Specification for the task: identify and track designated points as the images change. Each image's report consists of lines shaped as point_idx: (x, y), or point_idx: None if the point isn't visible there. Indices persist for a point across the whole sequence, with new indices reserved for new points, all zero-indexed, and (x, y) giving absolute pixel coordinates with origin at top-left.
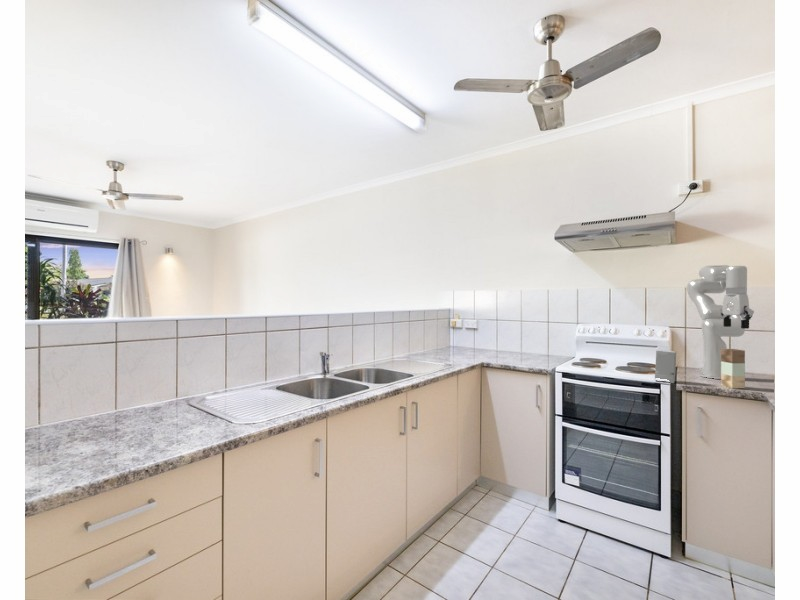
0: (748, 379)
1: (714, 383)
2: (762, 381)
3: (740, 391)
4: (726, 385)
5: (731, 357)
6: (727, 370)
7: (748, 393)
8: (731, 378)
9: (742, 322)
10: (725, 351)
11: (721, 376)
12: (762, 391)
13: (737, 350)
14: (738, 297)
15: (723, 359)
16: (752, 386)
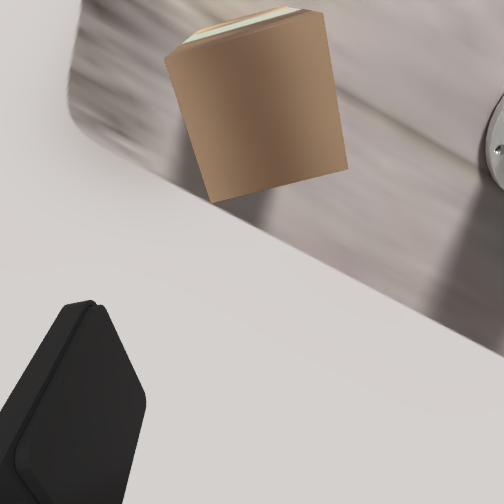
0: (496, 278)
1: (361, 4)
2: (446, 311)
3: (131, 38)
4: (242, 17)
5: (183, 47)
6: (232, 25)
7: (86, 55)
8: (200, 32)
9: (11, 408)
10: (256, 29)
11: (285, 7)
12: (177, 169)
13: (196, 129)
14: None
15: (277, 17)
16: (306, 194)
